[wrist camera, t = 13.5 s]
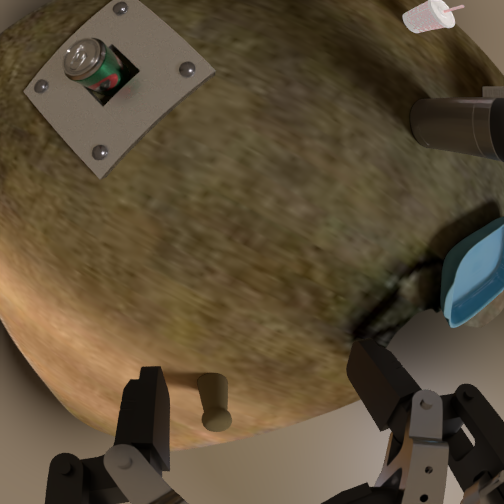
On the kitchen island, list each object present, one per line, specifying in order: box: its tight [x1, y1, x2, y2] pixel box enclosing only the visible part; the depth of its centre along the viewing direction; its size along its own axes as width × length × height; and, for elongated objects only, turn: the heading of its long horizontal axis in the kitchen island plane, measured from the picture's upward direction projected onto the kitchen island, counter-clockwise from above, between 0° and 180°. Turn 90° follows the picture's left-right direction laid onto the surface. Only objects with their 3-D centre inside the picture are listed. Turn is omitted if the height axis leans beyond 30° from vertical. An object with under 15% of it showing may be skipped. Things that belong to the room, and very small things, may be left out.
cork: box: [197, 373, 232, 432], centre depth 45 cm, size 6×6×11 cm
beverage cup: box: [403, 0, 464, 33], centre depth 24 cm, size 6×6×14 cm
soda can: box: [62, 38, 129, 96], centre depth 23 cm, size 5×5×12 cm
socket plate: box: [23, 0, 216, 179], centre depth 27 cm, size 20×20×3 cm
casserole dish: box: [440, 217, 504, 328], centre depth 50 cm, size 37×22×7 cm, turn 109°
